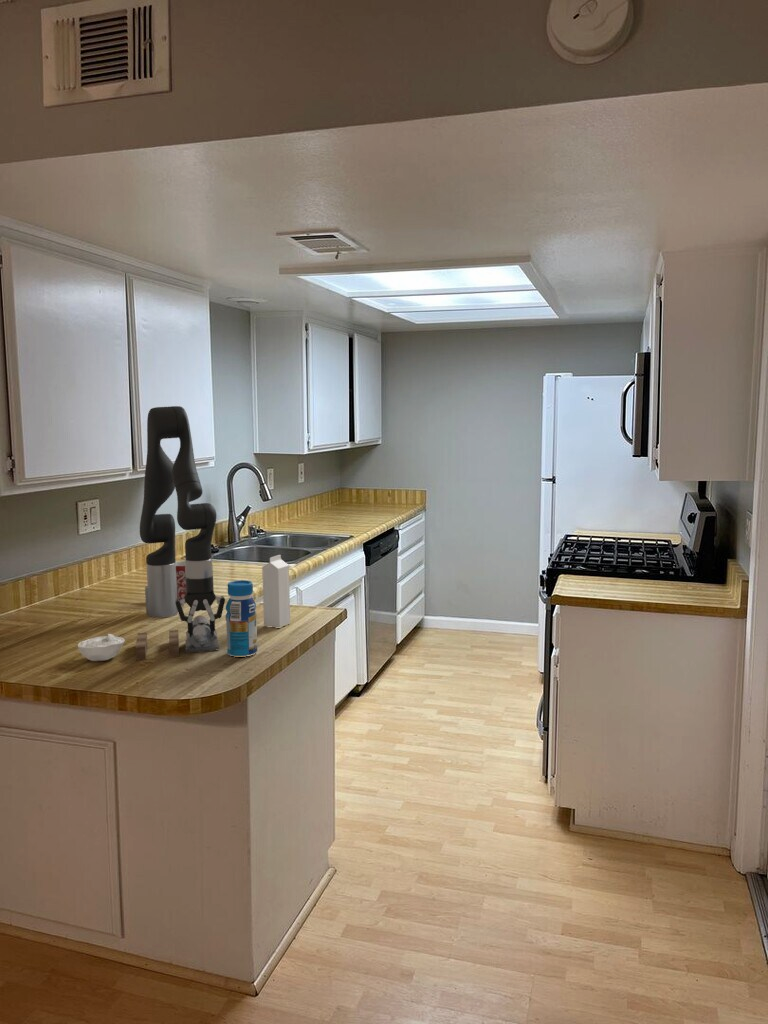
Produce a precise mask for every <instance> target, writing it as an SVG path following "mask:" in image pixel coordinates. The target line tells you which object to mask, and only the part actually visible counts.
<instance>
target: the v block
mask: <svg viewBox="0 0 768 1024" xmlns="http://www.w3.org/2000/svg"><path fill="white" fill-rule="evenodd" d="M185 634H186V636H185V638H186V639H185V640H184V641H185V653H186V654H189V653H190V652H192V653H199V652H198V651H203V652H208V651H207V650H214V651H217V650H216V649H219V650H220V644H219V639H218V633H217V630H216V628H215V631H214V632H213V634H211V638H210V640H209V641H208V642H207V643H204V644H199V643H197V642H196V641H195V640H194V638H193V635H191V633H190V634H189V633H188V630H187V631H186V632H185ZM190 654H191V653H190Z"/></svg>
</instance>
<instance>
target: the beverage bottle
mask: <svg viewBox="0 0 768 1024" xmlns="http://www.w3.org/2000/svg"><path fill="white" fill-rule="evenodd" d="M253 585H254V584H253V582H252V581H250V580H242V579H241V580H233V581H229V582H228V584H227V594H228V596H229V598H228V601H227V602H226V603H225V610H226V613H225V614H226V615H225V621H226V642H227V643H226V644H227V645H226V646H227V649H226V650H227V655H228V656H229V655H230V656H229V657H231V656H247V655H251V654H254V653H256V652H257V653H258V630H257V629H258V628H257V627H258V625H257V620H258V619H257V618H258V613H257V612H256V609H257V604H256V602H255V599H254V598H253V597H252V595H253V594H254V586H253ZM257 653H256V654H257Z"/></svg>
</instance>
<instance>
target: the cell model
mask: <svg viewBox="0 0 768 1024" xmlns="http://www.w3.org/2000/svg"><path fill="white" fill-rule="evenodd" d="M125 641H126V639H124V638H123V637H121V636H116V635H114V634H112V633H107V635H102V636H94V637H92V638H88V639H86V640H83V641H79V643H78V644H77V648H78V650H79V652H80V654H81V655H82V657H84V658H86V660H87V659H88V660H89V661H91V662H104V661H108V660H110V659H113V658H114V657H116V656H118V654H119V652H120V651H121V649H122V647H123V645H124V643H125Z"/></svg>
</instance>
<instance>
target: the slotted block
mask: <svg viewBox="0 0 768 1024" xmlns="http://www.w3.org/2000/svg"><path fill="white" fill-rule="evenodd" d="M179 637H180V636H179V629H173V630H169V632H168V654H169V656H168V657H169V658H175V657H176V658H177V657H180V642H179V641H180V639H179ZM135 642H136V643H135V648H134V649H135V661H142V660H146V659H147V652H148V632H138V633H137V637H136V641H135Z"/></svg>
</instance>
